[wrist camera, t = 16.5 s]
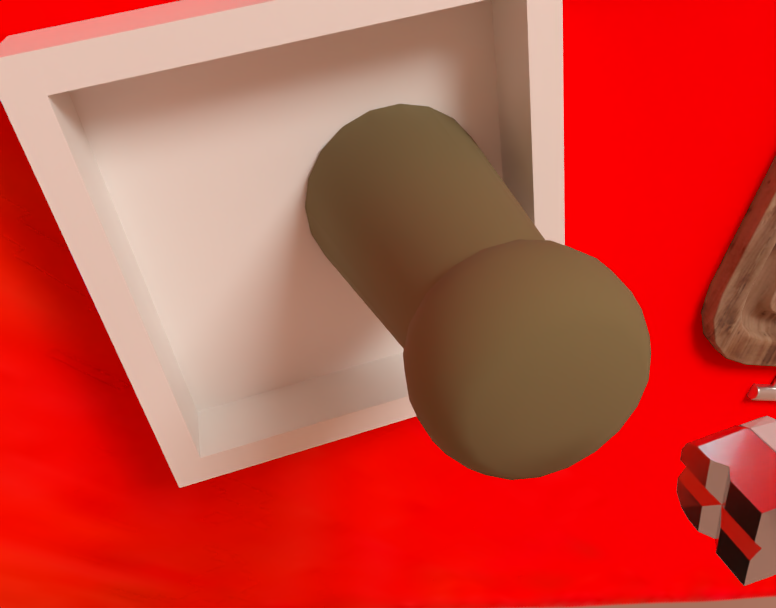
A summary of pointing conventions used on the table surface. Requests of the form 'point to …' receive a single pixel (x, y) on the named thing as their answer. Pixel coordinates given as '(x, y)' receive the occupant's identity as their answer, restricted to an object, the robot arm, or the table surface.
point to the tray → (261, 192)
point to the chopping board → (748, 291)
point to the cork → (477, 296)
